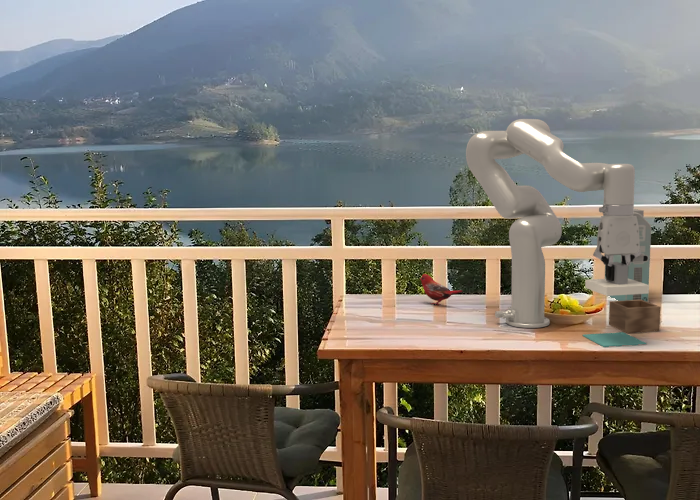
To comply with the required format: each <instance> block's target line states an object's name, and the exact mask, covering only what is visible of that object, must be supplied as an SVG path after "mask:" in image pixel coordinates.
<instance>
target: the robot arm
mask: <svg viewBox="0 0 700 500" xmlns="http://www.w3.org/2000/svg"><path fill="white" fill-rule="evenodd" d="M564 146H565V145H564V142H563V140H562V139H561V138H559V137H558V136H556V135H554V134H552V133H551V129H550V126H549V125H548V124H547V123H546V121H544V120H541V119H537V118H519V119H516V120H513V121H511V123H510V124H509V125H508V126H507V127H506V130H483V131H480V132H479V131H478V132H477V133H475V134H473V135H472V136H471V137H470V138H469V140H468V142H467V145H466V149H465V158H466V164H467V166H468V168H469V170H470V172H471V174H472V175H473V176H474V177H475V179H476V180H477V181H478V183H479V185H480V186H481V188H482V189H483V191H484V192H485V194H486V196H487V197H488V199H489V200H490V202H491V204H492V205H493V206H494V209H496V211H497V213H498V214H499V216H501V217H502V218H503V219H507V220H508V219H509V220H510V219H511V220H512V219H516V220H515V221H513V222H512V224H511V225H510V227H509V231H508V239H509V245H510V251H511V253H510V254H511V299H510V300H511V304H510V305H511V306H507V309H506V310H499V311H498V310H497V311H495V313H494V316H495V318H496V319H497V318H498V319H499V318H502V319H505V323H506V324H507V325H508V326H512V327H516V328H521V329H522V328H524V329H539V328H545V327H547V326H549V325H550V323H551V322H550V319H549V318H548V317H545V304H546V303H545V301H546V300H545V299H546V292H545V291H546V261H545V255H544V253H543V252H544V251H543V249H542V248H545V247H550V246H552V245H556V244H557V242H558V241H560V239H561V237H562V234H563V233H562V232H563V230H562V224H561V222H560V220H559V218H558V217H557V215H556V213H555V212H554V210H553V209H552V207H551V206H550V205H549V203H548V202H547V200H546V198H545V197H544V196H543V195H542V193H541V192H540V191H539V190H538V189H537V188H535V187H534V186H531V185H518V184H516V182H514V180H513V179H512V178H511V176H510V175H509V173H508V172H507V171H506V169H505V168H504V167H503V166H502V165H501V164H499V162H497V161H496V160H506V159H512V158H515V157H518V156H522V155H526V156H528V157H529V158H531V159H533V161H536V162H537V163H539V164H540V165H542V166H543V168H544V169H545V171H546V173H547V174H548V175H549V176H550V177H551V178H552V179H553V180H555V181H556V182H558V183H560V184H561V185H563V186H564V187H566V188H567V189H570V190H572V191H574V192H578V193H586V192H597V191H603V204H602V206H601V207H599V208H598V212H599V213H601V214H602V216H601V217H600V219H599V224H598V229H597V240H596V248H595V250H594V252H593V254H592V255H593V256H594V257H595V258H596V259H599V260H600V261H601V262H602V263H603V266H604V278H605V277H606V279H607V280H609V281H614V266H613V258H614V255H621V263H622V264H625V265H628V266H629V265H630V264H631V262H632V261H633V259H634V258H635V257H637V256H639V255H641V251H640V249H639V246H640V243H639V227H638V221H637V217H636V216H633V212H634V209H635V207H634V206H635V204H634V203H635V181H636V180H635V179H636V177H635V173H636V171H635V170H636V169H635V167H634V165H633V164H630V163H610V164H609V163H604V162H585V163H582V162H580V161H577V160H576V159H575V158H573V157H570V156H569V155H568V154H566V153H565V152H564ZM603 254H604V255H603Z"/></svg>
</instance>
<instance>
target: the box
mask: <svg viewBox="0 0 700 500" xmlns="http://www.w3.org/2000/svg"><path fill="white" fill-rule="evenodd" d="M608 305H609V306H608V307H609V308H608V309H609V310H608V326H610V327H612V328H614V329H616V330H618V331H620V332H624V333H626V334H636V333H635V332H640V333H654V332H655V333H656V332H660V331H661V330H660V328H661V306H659V305H658V304H654V303H652V302H649V301H648V302H646V301H644V300H625V301H616V300H610V301H609V304H608Z"/></svg>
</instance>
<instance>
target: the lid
mask: <svg viewBox="0 0 700 500" xmlns="http://www.w3.org/2000/svg"><path fill="white" fill-rule="evenodd" d="M613 266H614V281H609V280H607V279H605V278H595V279H585V283H584V285H585V288H586V289H588V290H591V291H593V292H595V293H598V294H600V295H603V296H605V295H606V297H608V296H613V295H631V294H650V284H649V285H647V284H644V283H641V282H638V281H635V280H631V279H628V265H625V264H622V263H619V262H613Z"/></svg>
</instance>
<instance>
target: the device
mask: <svg viewBox="0 0 700 500" xmlns="http://www.w3.org/2000/svg"><path fill="white" fill-rule="evenodd" d="M644 211H645V210H642V209H636V208H634V212H633V216H636V217H637V221H638V227H639V243H640V246H639V249H640V251H641V255H639V256H637V257H635V258H634V259H633V261H632V262H631V264H630V265H629V266H628V279H631V280H635V281H638V282H641V283H644V284H647V285H649V286H650V268H651V267H650V266H651V245H652V244H651V243H652V242H651V241H652V239H651V237H652V226H651V224H650V222H649V221H648V220H647V219H645V217H644V213H645V212H644ZM613 262H619V263H621V255H614V258H613ZM604 279H606V277H605V276H604ZM649 294H650V293H649ZM649 294H631V295H613V296H610V297H611V298H610V297H609V298H610V299H612V298H615V299H616V300H618V301H625V300H644V301H646V302H649ZM616 300H615V301H616Z"/></svg>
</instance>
